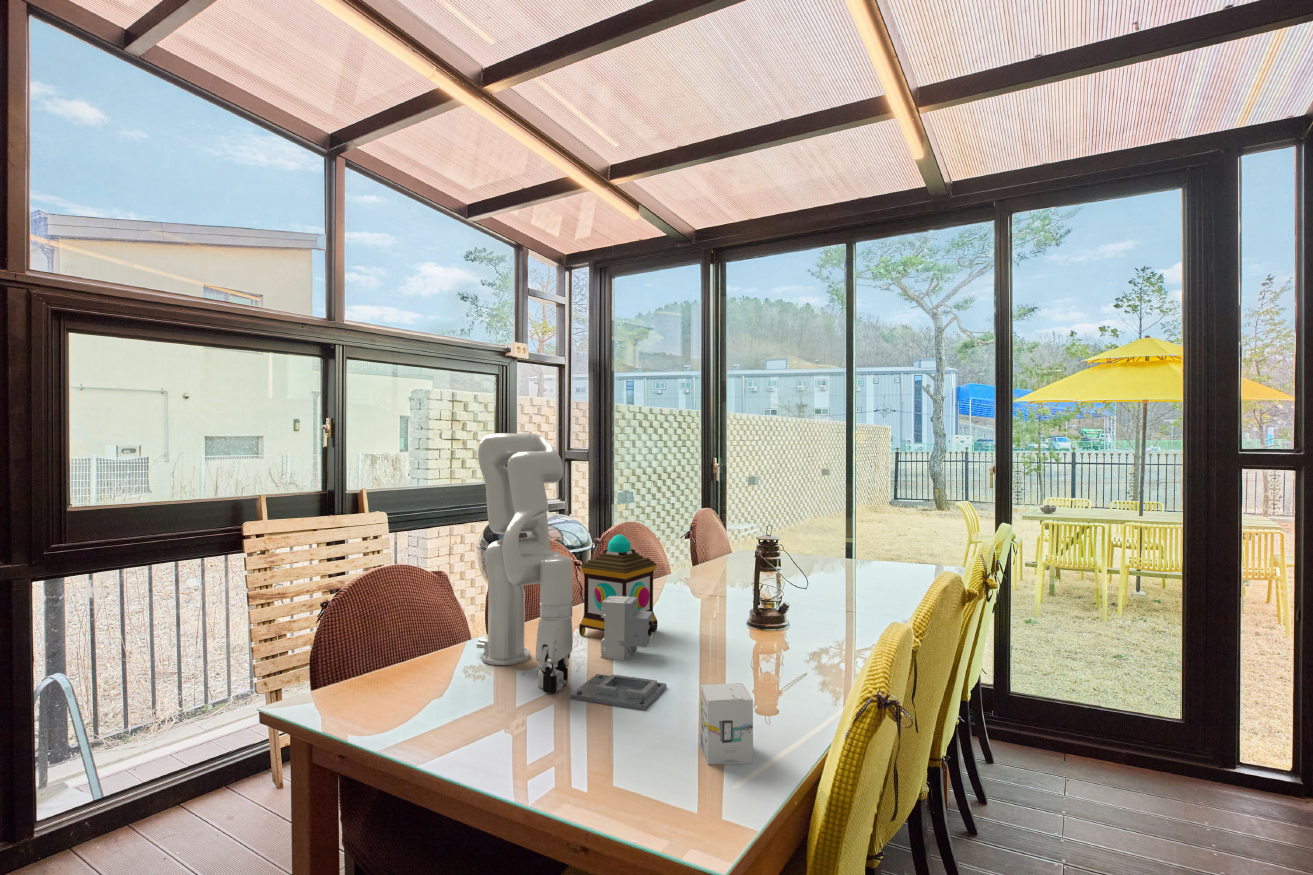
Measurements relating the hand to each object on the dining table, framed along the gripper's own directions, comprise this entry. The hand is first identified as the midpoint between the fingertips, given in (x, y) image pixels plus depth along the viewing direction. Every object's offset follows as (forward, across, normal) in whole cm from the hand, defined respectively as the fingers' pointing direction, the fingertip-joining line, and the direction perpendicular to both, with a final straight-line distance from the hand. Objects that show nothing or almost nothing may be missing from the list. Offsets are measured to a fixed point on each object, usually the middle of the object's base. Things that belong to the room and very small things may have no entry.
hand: (555, 687), depth 153 cm
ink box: (+1, +17, +45) cm, 48 cm away
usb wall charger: (+1, 0, 0) cm, 1 cm away
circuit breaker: (+1, -29, +7) cm, 30 cm away
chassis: (0, -3, +15) cm, 15 cm away
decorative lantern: (+1, -47, -4) cm, 47 cm away
